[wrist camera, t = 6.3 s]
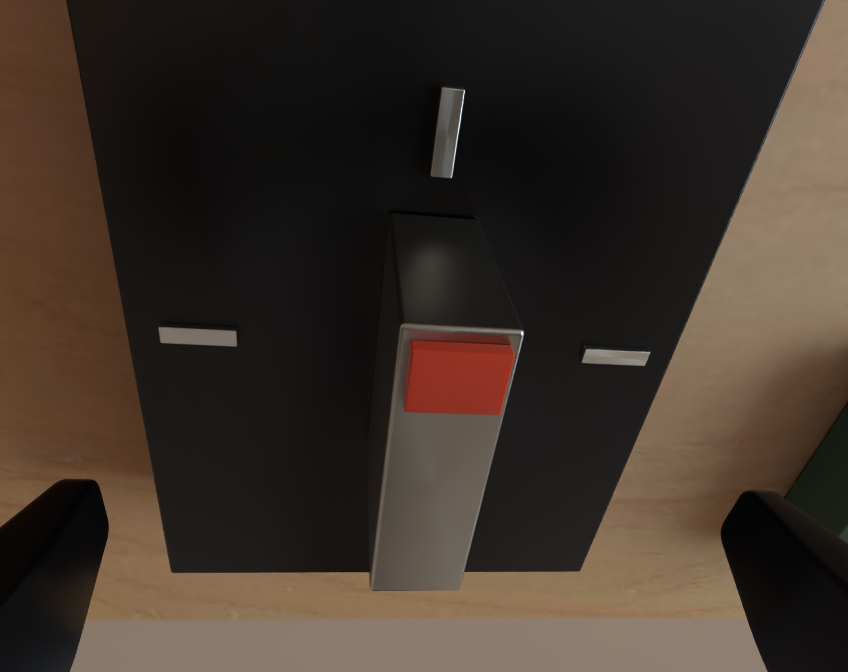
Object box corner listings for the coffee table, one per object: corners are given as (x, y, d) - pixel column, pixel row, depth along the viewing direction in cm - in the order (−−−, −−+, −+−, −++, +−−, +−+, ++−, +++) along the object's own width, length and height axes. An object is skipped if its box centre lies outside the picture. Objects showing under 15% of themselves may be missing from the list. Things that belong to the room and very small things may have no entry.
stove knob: (438, 446, 13) (462, 604, 10) (367, 444, 13) (369, 605, 10) (479, 218, 10) (531, 342, 7) (389, 211, 10) (401, 336, 7)
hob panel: (552, 490, 19) (582, 577, 17) (197, 484, 18) (168, 579, 15) (745, -68, 11) (864, -68, 8) (114, -168, 10) (20, -206, 7)
